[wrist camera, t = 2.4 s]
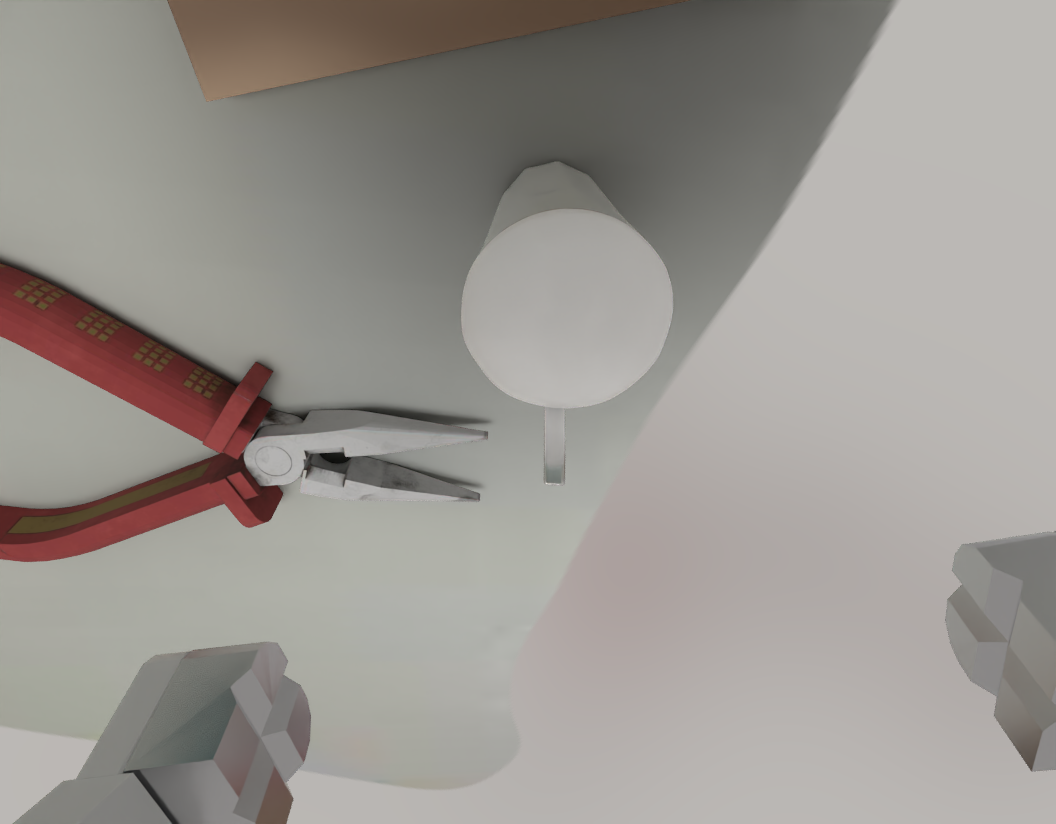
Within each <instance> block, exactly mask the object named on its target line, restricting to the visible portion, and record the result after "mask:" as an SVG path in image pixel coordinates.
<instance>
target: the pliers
mask: <svg viewBox="0 0 1056 824" xmlns="http://www.w3.org/2000/svg"><path fill="white" fill-rule="evenodd" d="M0 336H1V337H3V338H6V339H8V340H10V341H12V342H14V343H16V344H18V345H20V346H22V347H24V348H26V349H28V350H30V351H32V352H33V353H35V354H37V355H39V356H41V357H43V358H45V359H47V360H49V361H51V362H52V363H54V364H56V365H58V366H60V367H62V368H64V369H66V370H68V371H70V372H71V373H73V374H75V375H77V376H79V377H81V378H83V379H85V380H87V381H89V382H91V383H92V384H94V385H96V386H98V387H100V388H102V389H104V390H106V391H108V392H110V393H111V394H113V395H115V396H117V397H119V398H121V399H123V400H125V401H127V402H129V403H131V404H132V405H134V406H136V407H138V408H140V409H142V410H144V411H146V412H148V413H150V414H151V415H153V416H155V417H157V418H159V419H161V420H163V421H165V422H167V423H169V424H170V425H172V426H174V427H176V428H178V429H180V430H182V431H184V432H186V433H188V434H190V435H191V436H193V437H195V438H197V439H199V440H201V441H203V445H205V446H207V447H209V448H211V449H213V450H215V451H216V452H218V453H220V454H218V455H216V456H213V457H210V458H208V459H205V460H202V461H200V462H197V463H194V464H192V465H189V466H187V467H184V468H181V469H179V470H176V471H173V472H171V473H168V474H165V475H163V476H160V477H157V478H155V479H152V480H150V481H147V482H144V483H142V484H139V485H136V486H134V487H131V488H128V489H126V490H123V491H121V492H118V493H115V494H113V495H110V496H107V497H105V498H102V499H99V500H97V501H93V502H90V503H86V504H82V505H77V506H73V507H66V508H58V509H29V508H20V507H11V506H2V505H0V559H4V560H13V561H21V562H36V561H50V560H57V559H63V558H67V557H72V556H77V555H81V554H84V553H88V552H92V551H95V550H98V549H101V548H103V547H106V546H109V545H112V544H114V543H117V542H120V541H123V540H125V539H128V538H131V537H134V536H136V535H139V534H142V533H145V532H147V531H150V530H153V529H156V528H158V527H161V526H164V525H167V524H169V523H172V522H175V521H178V520H180V519H183V518H186V517H189V516H191V515H194V514H197V513H200V512H202V511H205V510H208V509H211V508H213V507H216V506H219V505H222V504H225V505H226V506H227V507H228V508H229V510H230V511H231V512H232V513H233V515H234V516H235V517H236V518H237V520H238V521H239V522H240V523H241V524H242V525H244V526H245V527H248V528H250V527H254V526H257V525H259V524H262V523H265V522H268V521H269V520H270V519H271V518H272V516H273V514H274V512H275V510H276V508H277V506H278V504H279V502H280V500H281V498H282V495H283V492H282V491H281V490H280V488H279V487H278V486H277V485H286V484H290V483H292V482H294V481H296V480H297V479H298V478H299V477H302V481H301V486H300V491H299V492H300V493H305V494H310V495H314V496H321V497H327V498H335V499H343V500H369V501H476V502H479V501H480V494H479V493H476V492H474V491H471V490H468V489H465V488H462V487H459V486H456V485H453V484H450V483H447V482H444V481H441V480H438V479H435V478H432V477H429V476H426V475H424V474H421V473H418V472H415V471H412V470H409V469H406V468H403V467H400V466H397V465H394V464H391V463H388V462H384V461H381V460H377V459H373V458H369V457H365V456H367V455H381V454H389V453H396V452H403V451H410V450H417V449H424V448H431V447H438V446H445V445H452V444H459V443H466V442H473V441H480V440H487V439H488V432H486V431H480V430H474V429H468V428H462V427H456V426H450V425H444V424H438V423H432V422H426V421H420V420H414V419H408V418H402V417H396V416H390V415H384V414H378V413H372V412H366V411H359V410H310V412H309V414H308V415H307V417H306V419H305V420H302V419H301V418H299V417H297V416H295V415H291V414H287V413H283V412H279V411H275V410H272V409H269V408H270V407H271V405H272V404H271V403H269V402H267V401H266V400H264V399H262V398H260V397H258V395H259V393H260V392H261V390H262V389H263V387H264V385H265V384H266V382H267V381H268V379H269V377H270V376H271V374H272V373H273V371H271V370H269V369H267V368H266V367H264V366H262V365H261V364H259V363H257V362H255V363H254V365H253V366H252V368H251V369H250V370H249V372H248V373H247V374H246V376H245V377H244V378H243V380H242V381H241V382H240V384H239V385H238V387H236V386H234V385H233V384H231V383H229V382H227V381H225V380H224V379H222V378H220V377H218V376H216V375H215V374H213V373H211V372H209V371H207V370H206V369H204V368H202V367H200V366H199V365H197V364H195V363H193V362H191V361H190V360H188V359H186V358H184V357H182V356H181V355H179V354H177V353H175V352H173V351H172V350H170V349H168V348H166V347H164V346H163V345H161V344H159V343H157V342H156V341H154V340H152V339H150V338H148V337H147V336H145V335H143V334H141V333H139V332H138V331H136V330H134V329H132V328H130V327H129V326H127V325H125V324H123V323H121V322H120V321H118V320H116V319H114V318H112V317H111V316H109V315H107V314H105V313H104V312H102V311H100V310H98V309H96V308H95V307H93V306H91V305H89V304H87V303H86V302H84V301H82V300H80V299H78V298H77V297H75V296H73V295H71V294H69V293H68V292H66V291H64V290H62V289H60V288H58V287H56V286H54V285H52V284H50V283H48V282H46V281H44V280H41V279H39V278H37V277H34V276H32V275H30V274H27V273H25V272H23V271H20V270H18V269H15V268H12V267H10V266H7V265H4V264H2V263H0ZM222 452H224V453H222ZM334 452H344V453H345V457H351V458H350V460H348V461H347V462H345V463H341V464H335V463H330V462H328V461H326V460H325V459H323V458H322V457H321V456H320V454H319V453H334Z"/></svg>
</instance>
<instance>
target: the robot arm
mask: <svg viewBox="0 0 1056 824" xmlns="http://www.w3.org/2000/svg"><path fill="white" fill-rule="evenodd" d="M952 571H953V573H954V574H955V575H956V576H957V578H958V579H959V580H960V582H961V583H962V585H961V586H960V587H959V588H958V589H957V590H956V591H955V592H954V593H953V594H952V595H951V596H950V597H949V598H948V600H947V610H946V619H945V621H946V626H947V631H948V635H949V639H950V644H951V646H952V649H953V651H954V653H955V655H956V658H957V660H958V662H959V664H960V665H961V667H962V668H963V670H964V671H965V673H966V674H967V676H968V677H969V679H970V681H972V682H973V683H975V684H977V685H978V686H980V687H982V688H983V689H985V690H987V691H988V692H990V693H992V694H993V695H995V696H997V698H996V705H995V711H994V716H995V718H996V720H997V721H998V722H999V724H1000V725H1001V727H1002V729H1003V730H1004V731H1005V733H1006V734H1007V736H1008V737H1009V739H1010V740H1011V742H1012V743H1013V745H1014V746H1015V748H1016V749H1017V751H1018V752H1019V754H1020V755H1021V757H1022V758H1023V760H1024V761H1025V762H1026V764H1027V765H1028V767H1029V768H1030V770H1031V771H1043V770H1056V531H1055V532H1043V533H1037V534H1030V535H1023V536H1016V537H1009V538H1003V539H996V540H990V541H983V542H976V543H969V544H962V545H961V547H960V548H959V549H958V551H957V552H956V553H955V557H954V562H953V568H952ZM287 663H288V660H287V658H286V657H285V655H284V653H283V651H282V650H281V648H280V646H279V645H278V643H274V642H260V643H251V644H243V645H234V646H225V647H216V648H207V649H198V650H193V651H188V652H179V653H169V654H160V655H155V656H154V657H152V658H151V659H150V660H148V661H147V662H145V663H144V664H143V665H142V667H141V669H140V670H139V672H138V674H137V675H136V677H135V679H134V681H133V682H132V684H131V686H130V687H129V689H128V691H127V693H126V694H125V696H124V698H123V699H122V701H121V703H120V704H119V706H118V708H117V710H116V711H115V713H114V715H113V716H112V718H111V720H110V722H109V723H108V725H107V727H106V728H105V730H104V732H103V734H102V735H101V737H100V739H99V740H98V742H97V744H96V746H95V747H94V749H93V751H92V753H91V754H90V756H89V758H88V759H87V761H86V763H85V765H84V766H83V768H82V770H81V771H80V773H79V775H78V776H77V778H76V779H74V780H68V781H63V782H62V783H60V784H59V785H58V786H57V787H56V788H54V789H53V790H52V791H51V792H50V793H49V794H47V795H46V796H45V797H44V798H43V799H41V800H40V801H39V802H38V803H37V804H36V805H34V806H33V807H32V808H31V809H30V810H28V811H27V812H26V813H25V814H24V815H22V816H21V817H20V818H19V819H18V820H17V821H15V822H14V823H13V824H286V823H287V819H288V816H289V813H290V809H291V805H292V802H293V797H292V794H291V792H290V789H289V787H288V785H287V781H288V780H289V779H290V778H291V777H292V776H293V775H294V773H295V772H296V771H297V770H298V769H299V768H300V767H301V766H302V765H303V764H304V761H305V757H306V753H307V750H308V746H309V742H310V725H311V714H310V710H309V705H308V701H307V697H306V695H305V693H304V691H303V689H302V687H301V685H300V684H298V683H296V682H294V681H293V680H291V679H289V678H288V677H286V676H284V675H283V674H284V671H285V668H286V666H287Z"/></svg>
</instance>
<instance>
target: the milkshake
mask: <svg viewBox="0 0 1056 824" xmlns="http://www.w3.org/2000/svg"><path fill="white" fill-rule="evenodd" d="M672 315H673V291H672V285H671V281H670V277H669V274H668V271H667V269H666V267H665V265H664V263H663V261H662V260H661V258H660V256H659V255H658V254H657V252H656V251H655V250H654V249H653V247H652V246H651V245H650V244H649V243H648V242H647V241H646V240H645V239H644V238H643V237H642V236H641V234H640V233H639V232H638V231H637V230H636V229H635V228H634V227H633V226H632V225H631V224H630V223H629V222H628V221H627V220H626V219H625V218H624V217H623V216H622V215H621V214H620V213H619V212H618V211H617V210H616V208H615V207H614V206H613V204H612V203H611V202H610V201H609V200H608V198H607V197H606V196H605V195H604V193H603V192H602V191H601V190H600V188H599V187H598V186H597V185H596V183H595V182H594V181H593V180H592V178H591V177H590V176H589V175H587V174H585V173H583V172H581V171H578V170H576V169H574V168H572V167H570V166H568V165H566V164H563V163H561V162H559V161H556V162H552V163H548V164H543V165H539V166H534V167H530V168H525V169H524V170H523V172H522V173H521V174H520V175H519V176H518V177H517V179H516V180H515V181H514V182H513V183H512V184H511V186H510V187H509V188H508V189H507V190H506V191H505V192H504V194H503V195H502V198H501V200H500V203H499V205H498V208H497V211H496V213H495V216H494V219H493V221H492V224H491V227H490V229H489V232H488V235H487V238H486V240H485V242H484V244H483V246H482V248H481V250H480V252H479V254H478V256H477V258H476V260H475V261H474V263H473V265H472V267H471V269H470V271H469V273H468V276H467V279H466V282H465V285H464V290H463V296H462V306H461V327H462V333H463V338H464V341H465V344H466V346H467V348H468V350H469V352H470V354H471V355H472V357H473V358H474V360H475V361H476V363H477V364H478V365H479V367H480V368H481V369H482V371H483V372H484V374H485V375H486V376H487V377H488V378H489V380H490V381H491V382H492V383H493V384H494V385H495V386H496V387H498V388H499V389H500V390H501V391H503V392H504V393H506V394H508V395H509V396H511V397H514V398H516V399H518V400H521V401H524V402H527V403H530V404H534V405H539V406H544V407H545V422H544V483H545V484H547V485H560V486H563V485H564V484H565V408H578V407H586V406H591V405H596V404H599V403H602V402H605V401H608V400H610V399H612V398H614V397H616V396H617V395H619V394H621V393H622V392H624V391H625V390H626V389H628V388H629V387H631V386H632V385H633V384H634V383H636V382H637V381H638V380H639V379H640V378H641V377H642V376H643V375H644V374H645V373H646V372H647V371H648V370H649V369H650V368H651V366H652V365H653V364H654V363H655V361H656V360H657V358H658V356H659V355H660V353H661V350H662V348H663V346H664V343H665V341H666V338H667V335H668V332H669V328H670V324H671V320H672Z"/></svg>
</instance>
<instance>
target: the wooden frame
mask: <svg viewBox="0 0 1056 824" xmlns="http://www.w3.org/2000/svg"><path fill="white" fill-rule="evenodd" d="M167 1H168V3H169V6H170V8H171V11H172V14H173V16H174V19H175V21H176V24H177V27H178V29H179V32H180V34H181V37H182V39H183V42H184V45H185V47H186V50H187V52H188V55H189V58H190V60H191V63H192V65H193V68H194V70H195V73H196V76H197V78H198V81H199V83H200V86H201V89H202V91H203V94H204V96H205V99H206V102H208V101H213V100H217V99H222V98H227V97H232V96H237V95H241V94H246V93H251V92H256V91H260V90H265V89H270V88H275V87H279V86H284V85H289V84H294V83H299V82H303V81H308V80H313V79H318V78H322V77H327V76H332V75H337V74H342V73H346V72H351V71H356V70H361V69H365V68H370V67H375V66H380V65H385V64H389V63H394V62H399V61H404V60H408V59H413V58H418V57H423V56H427V55H432V54H437V53H442V52H447V51H451V50H456V49H461V48H466V47H470V46H475V45H480V44H485V43H490V42H494V41H499V40H504V39H509V38H513V37H518V36H523V35H528V34H532V33H537V32H542V31H547V30H552V29H556V28H561V27H566V26H571V25H575V24H580V23H585V22H590V21H595V20H599V19H604V18H609V17H614V16H618V15H623V14H628V13H633V12H638V11H642V10H647V9H652V8H657V7H661V6H666V5H671V4H676V3H680V2H685V1H690V0H167Z"/></svg>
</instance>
